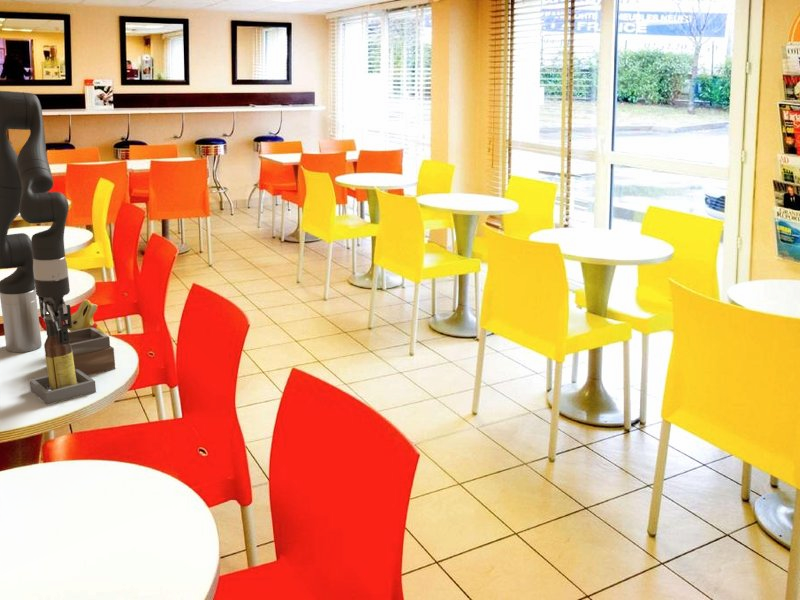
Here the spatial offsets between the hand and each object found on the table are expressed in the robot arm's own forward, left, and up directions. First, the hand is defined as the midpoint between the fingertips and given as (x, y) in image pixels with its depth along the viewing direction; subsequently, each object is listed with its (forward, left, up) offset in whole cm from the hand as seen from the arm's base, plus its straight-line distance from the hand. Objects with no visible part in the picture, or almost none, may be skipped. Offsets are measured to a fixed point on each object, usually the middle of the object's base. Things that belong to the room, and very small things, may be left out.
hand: (58, 339), depth 190 cm
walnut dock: (-13, +10, -14) cm, 21 cm away
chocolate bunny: (-25, +17, -14) cm, 33 cm away
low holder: (0, 0, -14) cm, 14 cm away
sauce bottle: (0, 0, -14) cm, 14 cm away
